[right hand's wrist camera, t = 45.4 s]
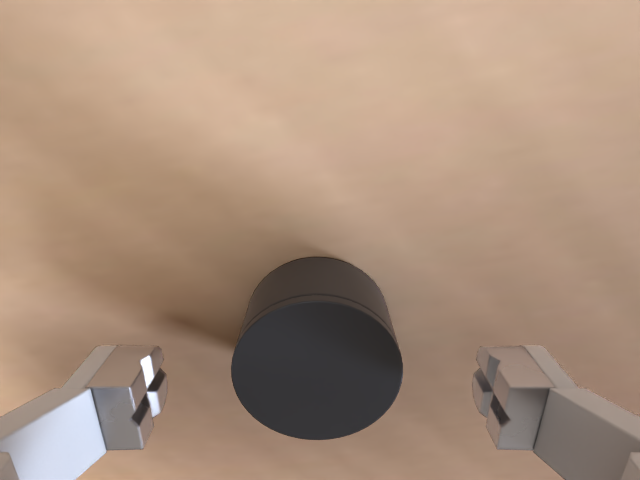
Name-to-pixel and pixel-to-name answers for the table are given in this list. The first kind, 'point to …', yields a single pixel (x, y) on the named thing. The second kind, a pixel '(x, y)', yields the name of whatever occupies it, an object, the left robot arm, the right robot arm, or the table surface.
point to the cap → (317, 351)
